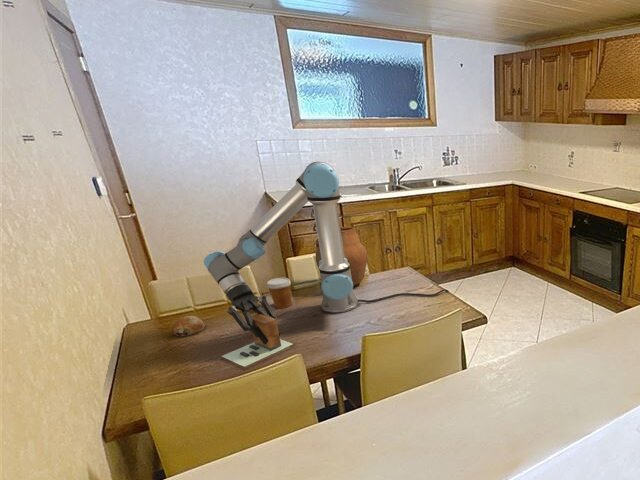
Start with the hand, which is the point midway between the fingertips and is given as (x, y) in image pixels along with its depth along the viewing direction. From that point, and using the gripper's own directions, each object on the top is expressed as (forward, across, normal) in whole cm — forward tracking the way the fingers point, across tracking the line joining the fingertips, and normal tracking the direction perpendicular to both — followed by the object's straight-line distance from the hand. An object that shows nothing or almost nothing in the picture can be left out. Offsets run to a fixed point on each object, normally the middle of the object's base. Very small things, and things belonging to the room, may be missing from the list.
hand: (272, 339), depth 156 cm
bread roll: (-28, +8, -35) cm, 45 cm away
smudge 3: (+1, +6, -4) cm, 7 cm away
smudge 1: (0, +8, -5) cm, 10 cm away
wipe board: (+1, +4, -6) cm, 7 cm away
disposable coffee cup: (-22, -26, -28) cm, 45 cm away
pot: (-19, -58, -26) cm, 67 cm away
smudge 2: (-2, +4, -7) cm, 8 cm away
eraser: (0, 0, -5) cm, 5 cm away
